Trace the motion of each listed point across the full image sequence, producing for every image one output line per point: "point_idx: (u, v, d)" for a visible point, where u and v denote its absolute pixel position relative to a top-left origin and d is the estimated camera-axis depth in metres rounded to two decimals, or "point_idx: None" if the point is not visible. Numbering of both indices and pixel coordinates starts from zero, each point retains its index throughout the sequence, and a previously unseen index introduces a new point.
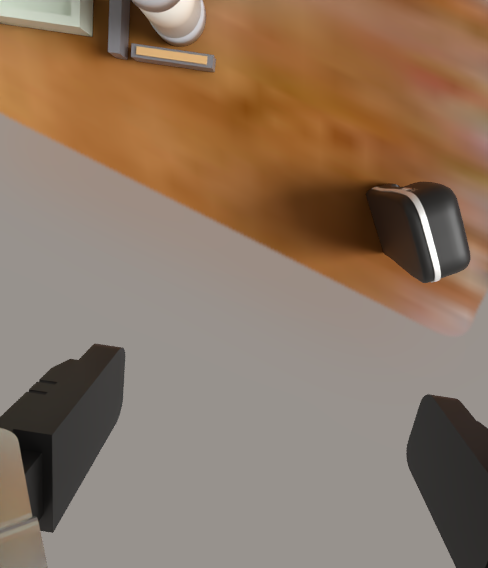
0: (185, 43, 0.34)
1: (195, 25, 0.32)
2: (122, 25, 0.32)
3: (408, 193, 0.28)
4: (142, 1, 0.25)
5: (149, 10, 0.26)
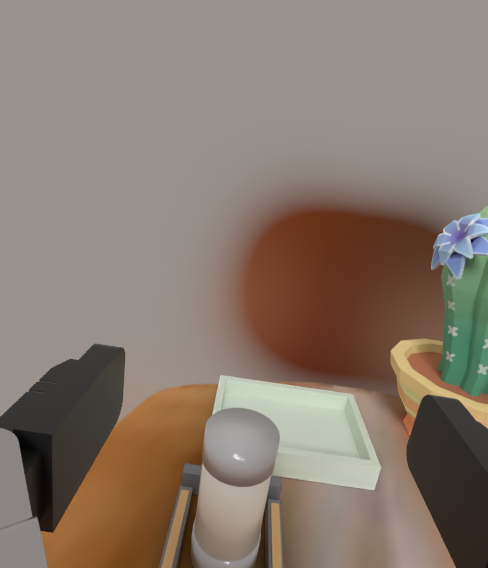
0: (191, 552, 0.26)
1: (206, 550, 0.24)
2: None
3: None
4: None
5: None
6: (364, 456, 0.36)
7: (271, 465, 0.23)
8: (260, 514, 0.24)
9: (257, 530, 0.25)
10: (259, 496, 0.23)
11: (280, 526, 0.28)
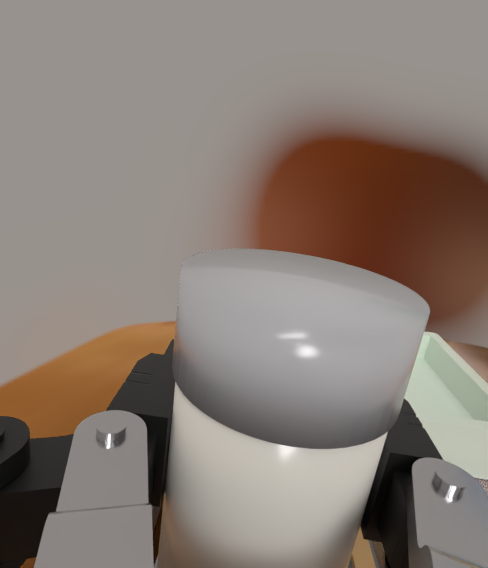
0: None
1: None
2: None
3: None
4: None
5: None
6: None
7: (408, 379, 0.07)
8: (353, 545, 0.08)
9: None
10: (361, 488, 0.07)
11: None
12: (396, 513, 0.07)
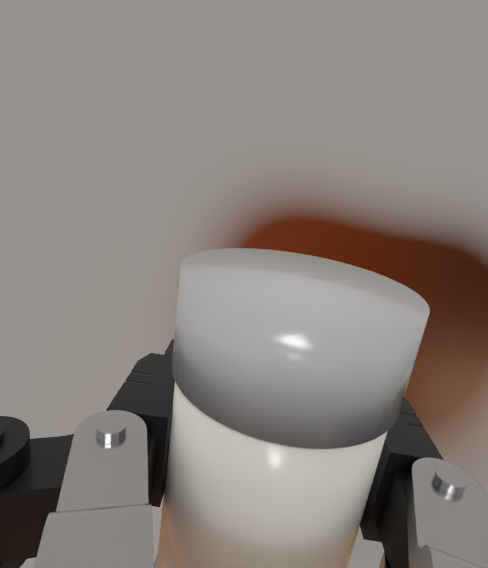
0: None
1: None
2: None
3: None
4: None
5: None
6: None
7: (408, 379, 0.07)
8: (352, 544, 0.08)
9: None
10: (361, 487, 0.07)
11: None
12: (396, 513, 0.07)
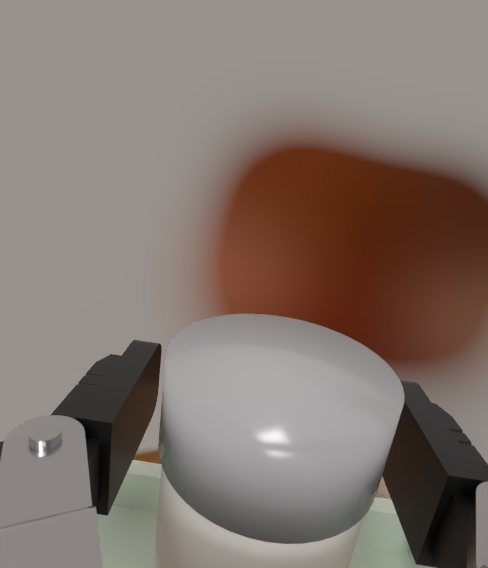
0: None
1: None
2: None
3: None
4: None
5: None
6: None
7: (383, 468, 0.07)
8: None
9: None
10: None
11: None
12: (457, 540, 0.07)
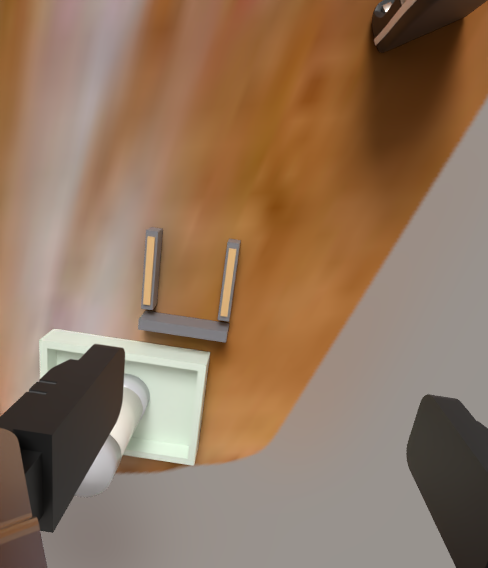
0: (147, 394, 0.37)
1: (132, 393, 0.35)
2: (203, 327, 0.34)
3: None
4: (112, 476, 0.28)
5: (119, 461, 0.30)
6: (52, 357, 0.36)
7: None
8: None
9: None
10: None
11: (144, 284, 0.34)
12: None
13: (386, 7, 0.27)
